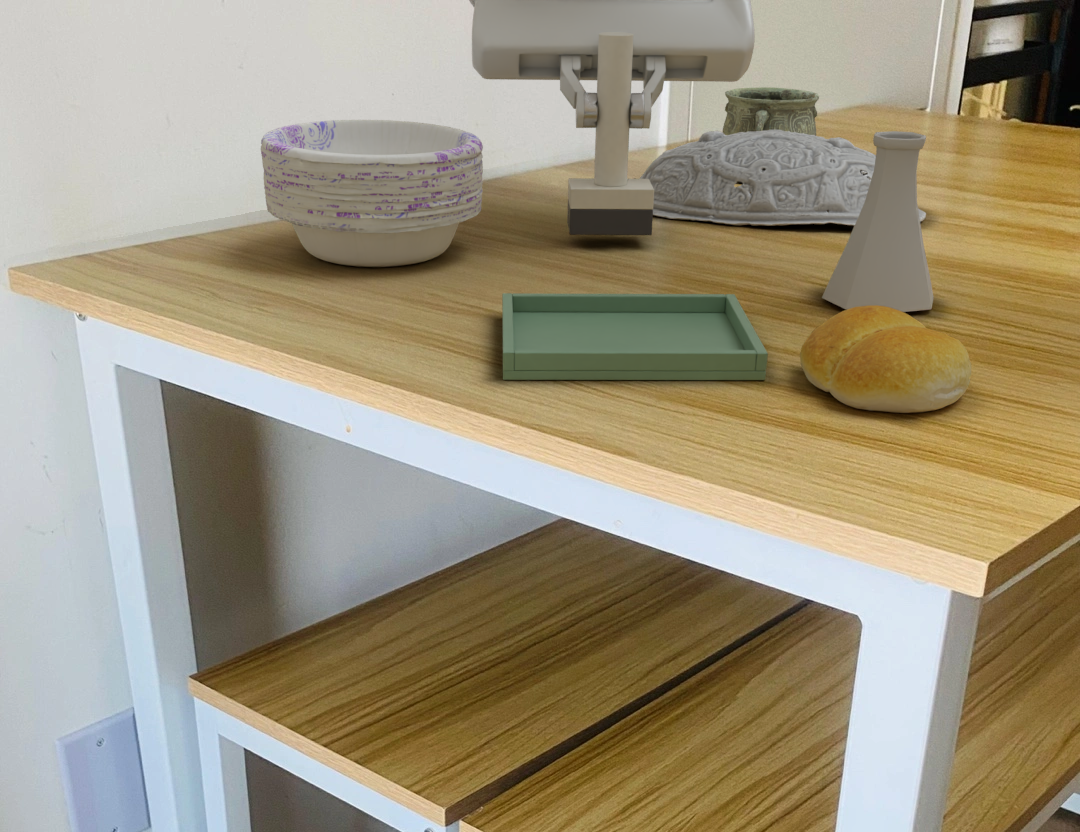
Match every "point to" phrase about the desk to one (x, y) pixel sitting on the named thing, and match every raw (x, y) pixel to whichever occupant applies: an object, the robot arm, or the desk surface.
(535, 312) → the tray
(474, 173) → the paper bowls
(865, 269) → the flask
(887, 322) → the bread roll
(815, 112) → the vessel
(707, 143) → the grey carved stone ornament
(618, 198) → the brush
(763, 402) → the desk surface
